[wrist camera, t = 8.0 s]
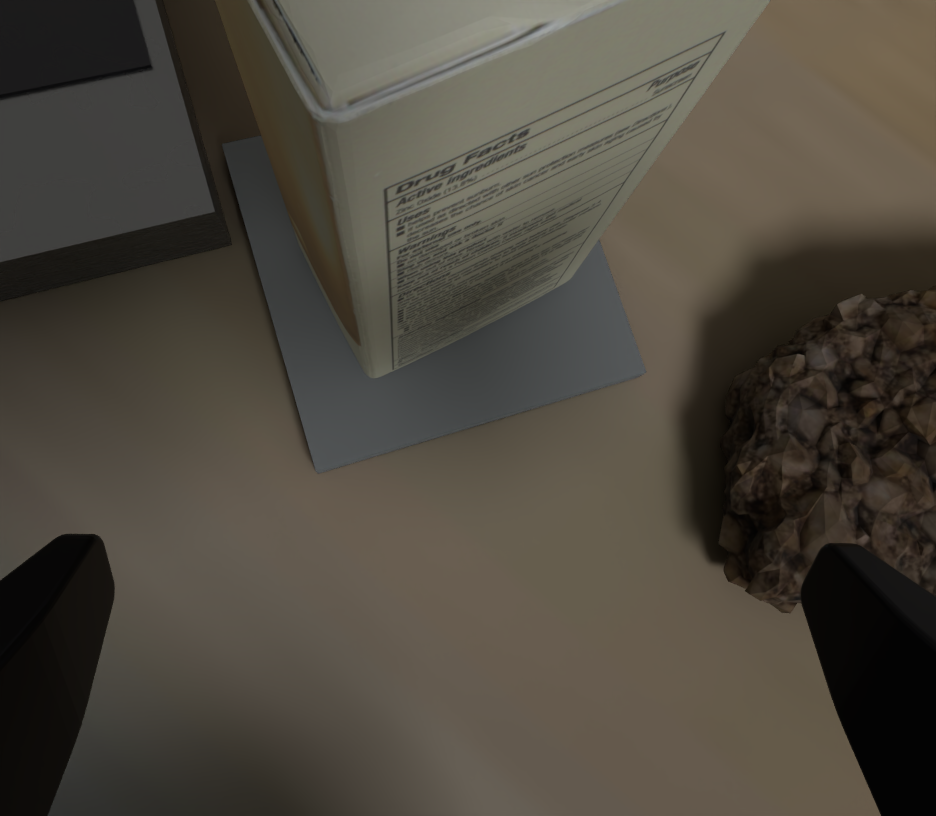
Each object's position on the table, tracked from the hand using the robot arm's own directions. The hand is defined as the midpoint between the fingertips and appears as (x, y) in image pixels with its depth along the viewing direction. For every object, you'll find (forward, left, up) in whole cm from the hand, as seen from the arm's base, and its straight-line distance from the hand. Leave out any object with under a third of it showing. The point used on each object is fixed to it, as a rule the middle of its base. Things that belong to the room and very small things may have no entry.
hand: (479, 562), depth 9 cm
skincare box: (+7, -2, -9) cm, 12 cm away
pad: (+7, -2, -10) cm, 12 cm away
